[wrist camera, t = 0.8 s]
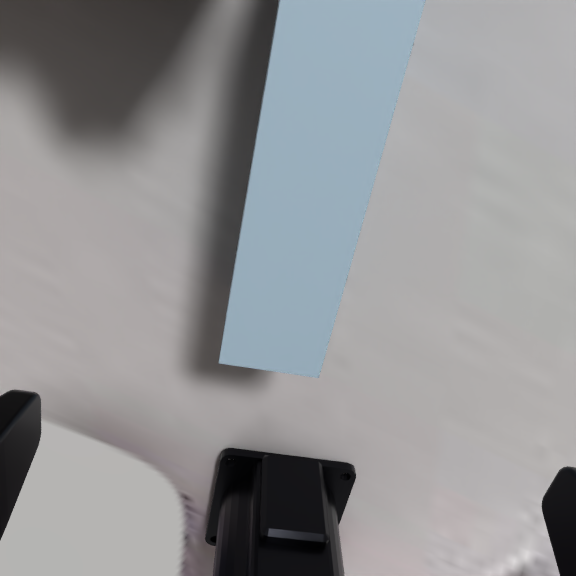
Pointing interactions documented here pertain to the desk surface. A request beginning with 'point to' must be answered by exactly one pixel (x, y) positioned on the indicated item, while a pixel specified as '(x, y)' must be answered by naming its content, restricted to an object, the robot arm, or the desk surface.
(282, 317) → the light blue rectangular block
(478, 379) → the desk surface
